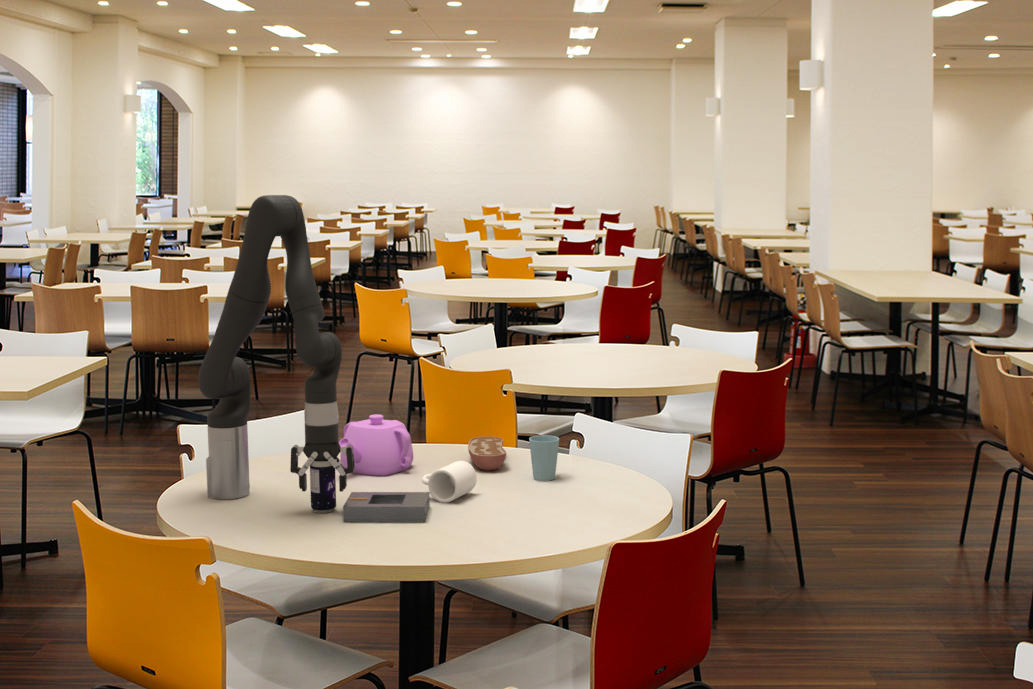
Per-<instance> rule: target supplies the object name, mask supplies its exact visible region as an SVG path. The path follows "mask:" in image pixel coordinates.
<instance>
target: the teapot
mask: <svg viewBox="0 0 1033 689" xmlns="http://www.w3.org/2000/svg"><path fill="white" fill-rule="evenodd" d="M339 445H340V446H341V447H347V446H349V445H352V446H353V452H354V464H355V469H354V470H353V472H352V473H354V474H359V475H365V476H376V477H382V476H383V477H384V476H391V475H394V474H397V473H401V472H403V471H406V470H408V469H409V468H410V467H411V466H412V464H413V461H414V450H413V449H414V448H413V443H412V438H411V434H410V433H409V431H408V429H407V428H406V425H405V424H404V423H403V422H401V421H399V420H398V419H397V420H396V419H393V420H391V419H384V415H383V414H371V415H369V416H368V419H364V420H359V421H350V422H348V423H347V424H345V426H344V427H343V437H342V438H341V439H340V440H339ZM339 455H340V456H339V459H340V461H341V462H342V464H343V465H344V467H345V468H347V456H344V454H343V452H340V453H339Z"/></svg>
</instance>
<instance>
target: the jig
mask: <svg viewBox="0 0 1033 689" xmlns="http://www.w3.org/2000/svg"><path fill="white" fill-rule="evenodd" d="M430 495H431V493H430V491H351V492H350V494H349V496H348V498H347V499H346V501H345V503H344V504H343V506H342V519H343V520H342V522H343V523H426V521H427V520H426V519H427V516H428V513H429V510H430V505H431V504H430V500H431V499H430Z"/></svg>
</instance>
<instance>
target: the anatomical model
mask: <svg viewBox="0 0 1033 689" xmlns="http://www.w3.org/2000/svg"><path fill="white" fill-rule="evenodd" d="M503 444H504V439H503V438H501V437H497V436H477V437H473V438H471V439H470V440H469V441H468V444H467V450H468V453H469V456H470V458H471V460H472V462H473V463H474V464H475V465H476V466H477V467H478V468H479V469H481V470H484V471H490V472H491V471H494V470H496V469H497V470H498V469H499V468H500V467H502V465H503V464H504V463H505V460H506V457H507V451H506V450H505V448H504V447H503Z"/></svg>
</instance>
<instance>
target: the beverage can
mask: <svg viewBox="0 0 1033 689" xmlns="http://www.w3.org/2000/svg"><path fill="white" fill-rule="evenodd" d="M309 478H310V479H309V481H310V482H309V483H310V488H309V489H310V509H312V510H313V511H314V512H315V513H317V514H318V513H319V514H328V513H331V512H333V511H334V509H335V508H336V507H337V489H336V488H337V485H336V484H337V483H336V469H335V468H334V467H333V466H332V464H331V463H330V462H329V461H313V462H312V464H311V465H310V466H309Z"/></svg>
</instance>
